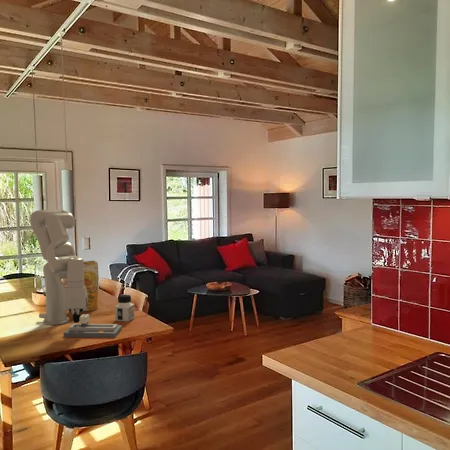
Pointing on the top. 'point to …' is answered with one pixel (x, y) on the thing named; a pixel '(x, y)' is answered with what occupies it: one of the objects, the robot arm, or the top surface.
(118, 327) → the console
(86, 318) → the fader
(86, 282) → the pancake mix bag
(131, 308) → the container
